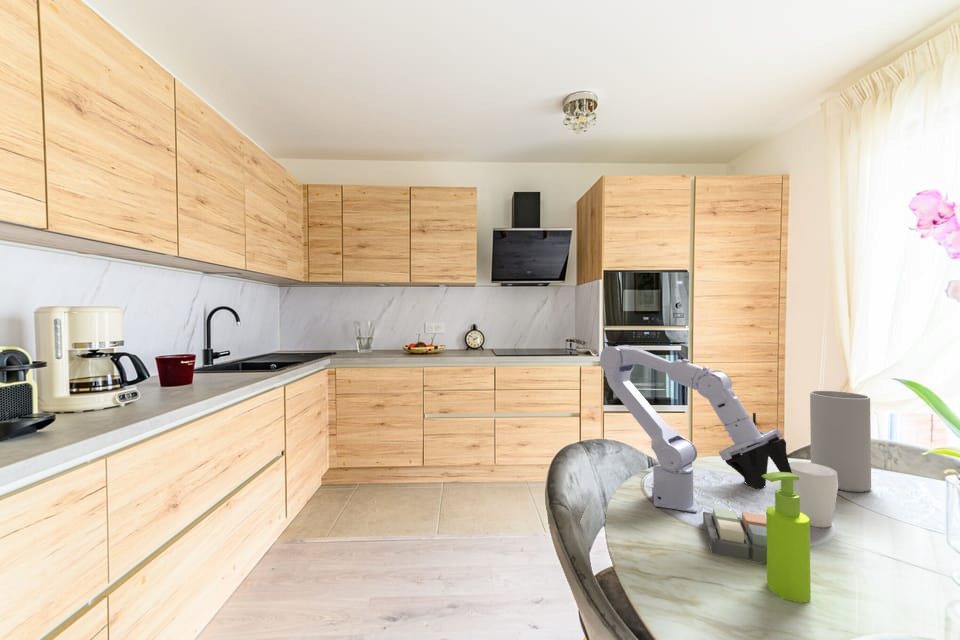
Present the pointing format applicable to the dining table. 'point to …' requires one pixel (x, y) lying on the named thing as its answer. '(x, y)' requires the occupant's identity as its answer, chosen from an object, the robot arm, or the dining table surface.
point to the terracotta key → (753, 520)
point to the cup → (816, 491)
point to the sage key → (724, 515)
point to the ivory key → (730, 531)
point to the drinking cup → (757, 459)
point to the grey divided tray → (733, 543)
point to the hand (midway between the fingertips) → (773, 482)
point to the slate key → (757, 535)
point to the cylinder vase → (842, 437)
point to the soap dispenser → (788, 542)
